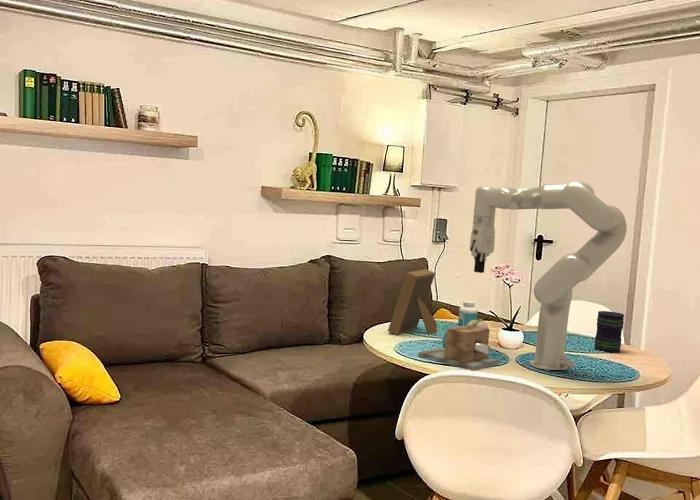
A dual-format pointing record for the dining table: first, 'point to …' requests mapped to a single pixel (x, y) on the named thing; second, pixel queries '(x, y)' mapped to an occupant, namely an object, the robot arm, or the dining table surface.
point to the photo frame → (413, 304)
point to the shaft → (478, 346)
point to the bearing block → (463, 348)
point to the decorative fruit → (478, 323)
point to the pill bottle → (467, 313)
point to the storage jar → (609, 331)
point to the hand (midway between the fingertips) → (478, 272)
